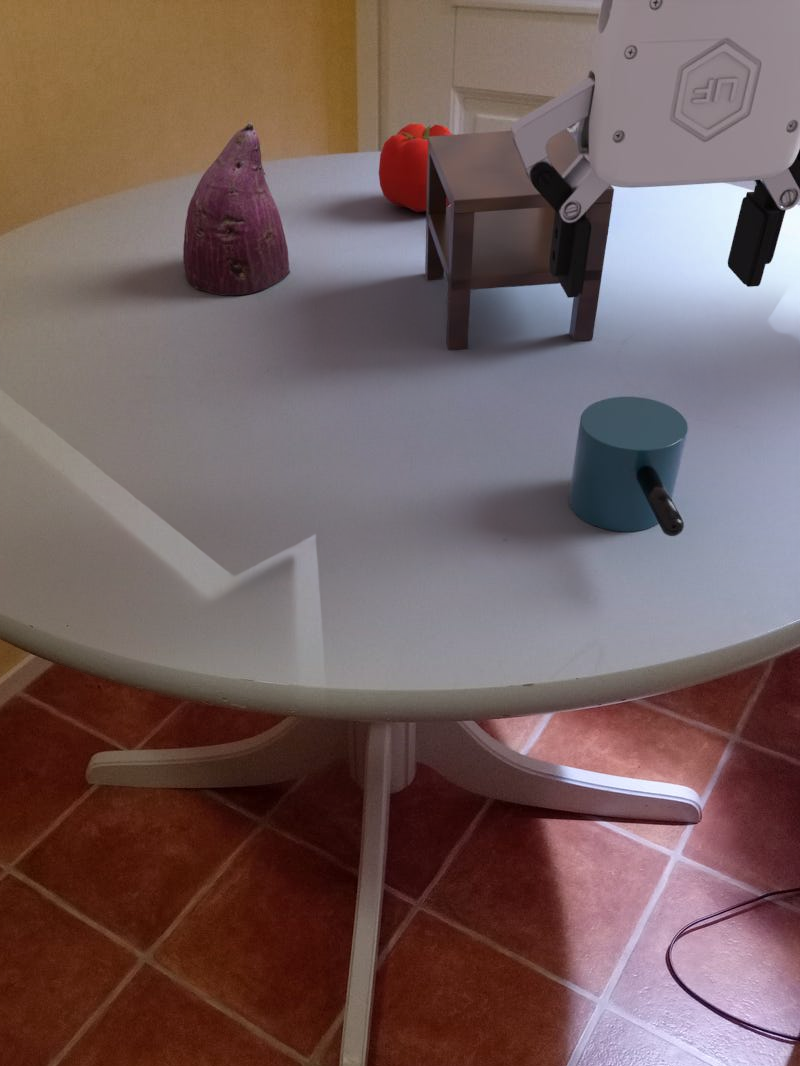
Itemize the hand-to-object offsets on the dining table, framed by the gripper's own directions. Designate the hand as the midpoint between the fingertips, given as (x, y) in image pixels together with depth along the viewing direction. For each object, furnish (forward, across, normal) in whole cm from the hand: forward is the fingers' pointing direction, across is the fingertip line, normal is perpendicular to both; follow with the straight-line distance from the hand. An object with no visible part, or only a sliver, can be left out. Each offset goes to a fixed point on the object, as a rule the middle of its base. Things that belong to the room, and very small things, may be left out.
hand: (655, 282), depth 54 cm
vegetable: (+15, -26, +42) cm, 52 cm away
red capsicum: (+15, -6, +57) cm, 59 cm away
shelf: (+15, -2, +31) cm, 35 cm away
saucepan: (+15, +1, -3) cm, 15 cm away
